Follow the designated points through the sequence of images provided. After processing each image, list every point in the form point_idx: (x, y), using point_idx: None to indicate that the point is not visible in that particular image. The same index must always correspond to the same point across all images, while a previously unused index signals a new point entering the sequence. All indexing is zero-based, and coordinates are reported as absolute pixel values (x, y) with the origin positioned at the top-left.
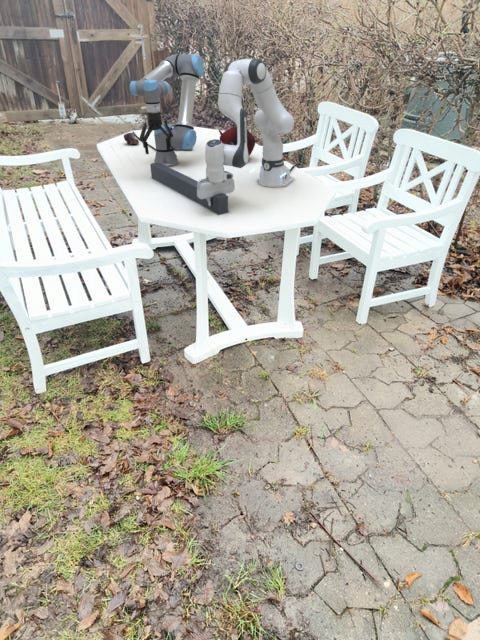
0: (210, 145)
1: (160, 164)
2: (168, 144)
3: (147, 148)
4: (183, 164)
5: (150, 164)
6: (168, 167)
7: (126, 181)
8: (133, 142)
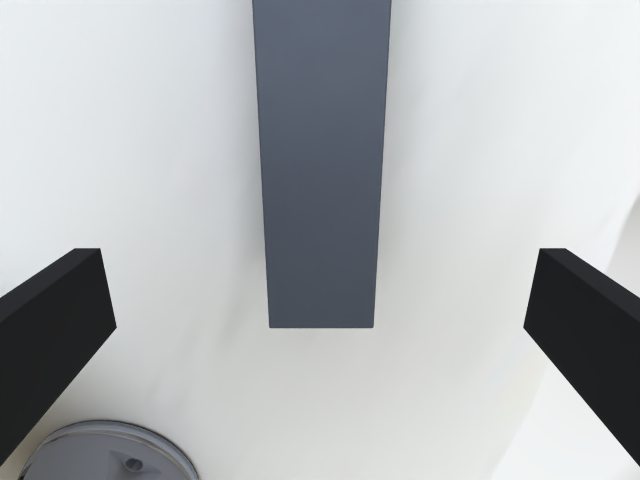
0: None
1: (291, 242)
2: (17, 309)
3: (632, 304)
4: None
5: (373, 319)
6: (265, 57)
7: None
8: None
